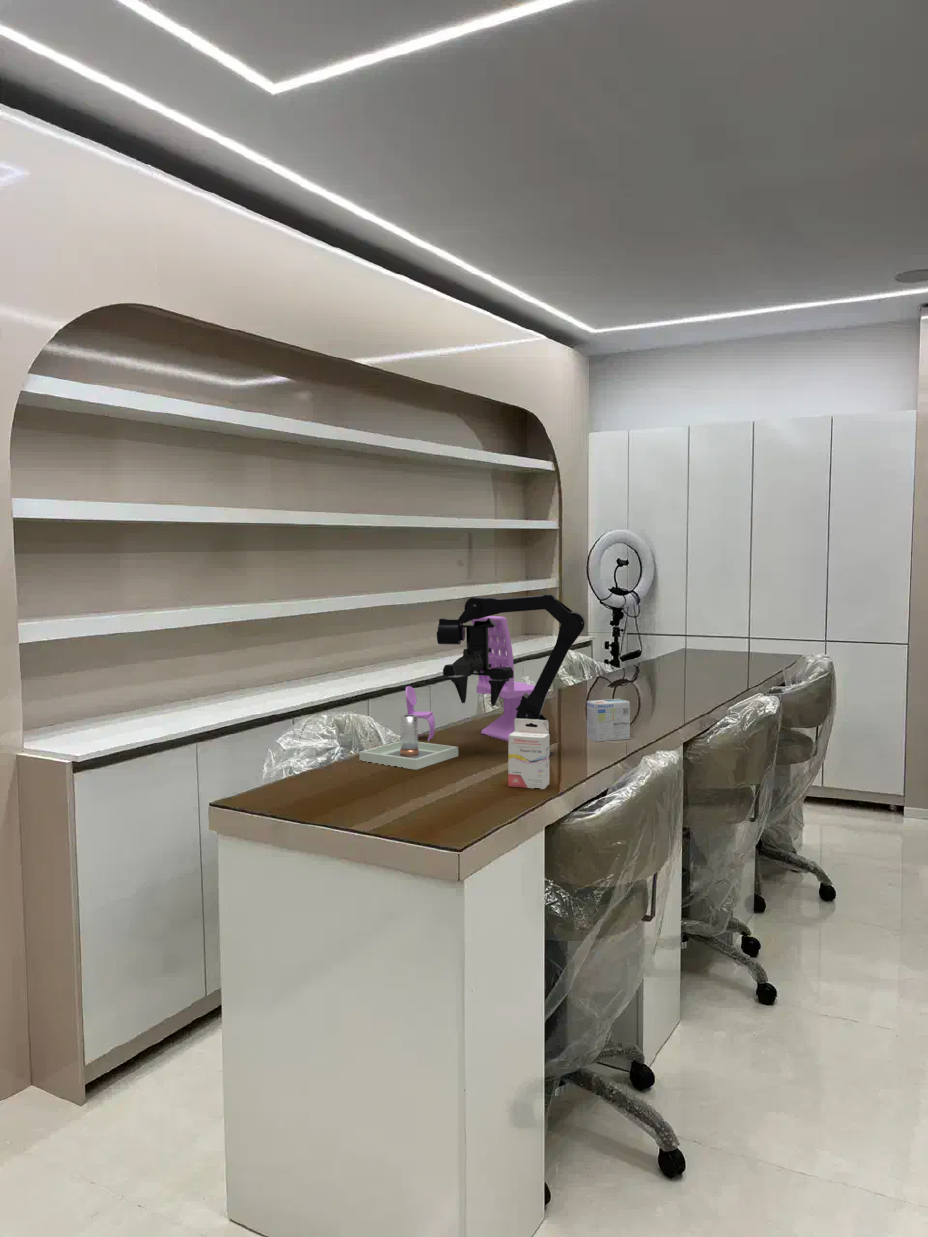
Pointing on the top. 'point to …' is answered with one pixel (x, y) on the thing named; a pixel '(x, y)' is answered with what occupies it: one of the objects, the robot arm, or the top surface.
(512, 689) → the earring display
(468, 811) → the top surface
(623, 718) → the light bulb box
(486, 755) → the top surface
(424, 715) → the toy chair
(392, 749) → the sage tray
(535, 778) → the ink cartridge box
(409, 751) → the metal sleeve
